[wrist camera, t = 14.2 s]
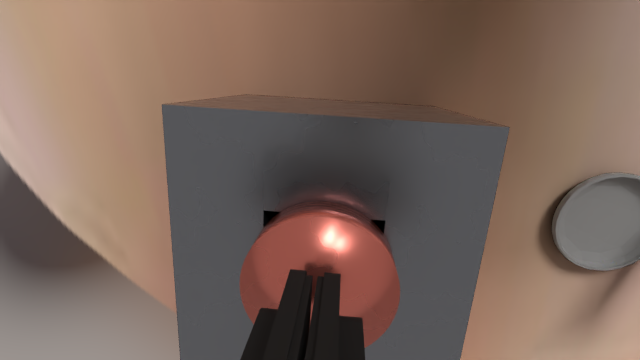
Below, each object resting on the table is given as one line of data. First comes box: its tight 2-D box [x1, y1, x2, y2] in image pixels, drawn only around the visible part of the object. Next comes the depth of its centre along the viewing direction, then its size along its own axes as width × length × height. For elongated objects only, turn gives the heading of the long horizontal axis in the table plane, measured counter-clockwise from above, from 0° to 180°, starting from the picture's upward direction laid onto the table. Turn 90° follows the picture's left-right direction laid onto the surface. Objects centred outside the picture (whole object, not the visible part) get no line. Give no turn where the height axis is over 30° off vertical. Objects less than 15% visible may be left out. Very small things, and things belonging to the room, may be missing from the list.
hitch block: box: [162, 94, 510, 360], centre depth 18 cm, size 12×12×10 cm
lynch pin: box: [239, 201, 400, 348], centre depth 17 cm, size 6×6×12 cm
